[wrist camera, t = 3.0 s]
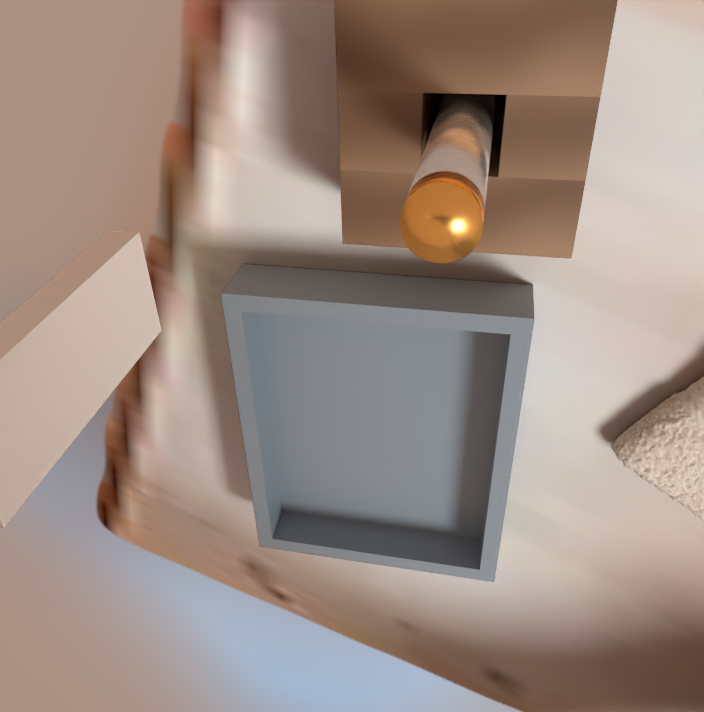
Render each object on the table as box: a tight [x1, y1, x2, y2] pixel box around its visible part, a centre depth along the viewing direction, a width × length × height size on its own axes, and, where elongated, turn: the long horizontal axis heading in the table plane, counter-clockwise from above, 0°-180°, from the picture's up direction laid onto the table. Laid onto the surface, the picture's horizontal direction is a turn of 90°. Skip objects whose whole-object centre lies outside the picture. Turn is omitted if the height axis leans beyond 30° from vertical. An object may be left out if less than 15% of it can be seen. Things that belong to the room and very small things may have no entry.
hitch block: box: [334, 0, 617, 258], centre depth 28 cm, size 10×10×5 cm
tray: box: [221, 264, 534, 582], centre depth 40 cm, size 20×16×4 cm
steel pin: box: [400, 93, 495, 263], centre depth 25 cm, size 2×2×14 cm
